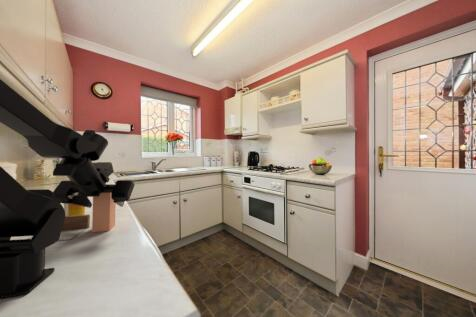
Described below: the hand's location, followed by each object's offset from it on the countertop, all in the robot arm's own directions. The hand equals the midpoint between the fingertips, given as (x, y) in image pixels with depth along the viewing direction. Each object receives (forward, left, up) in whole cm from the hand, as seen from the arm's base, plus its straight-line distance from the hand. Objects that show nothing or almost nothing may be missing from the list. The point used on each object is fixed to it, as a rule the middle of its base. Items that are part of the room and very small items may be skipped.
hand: (107, 205), depth 56 cm
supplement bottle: (+10, +13, -7) cm, 18 cm away
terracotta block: (-1, 0, -7) cm, 7 cm away
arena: (-3, +10, -7) cm, 12 cm away
